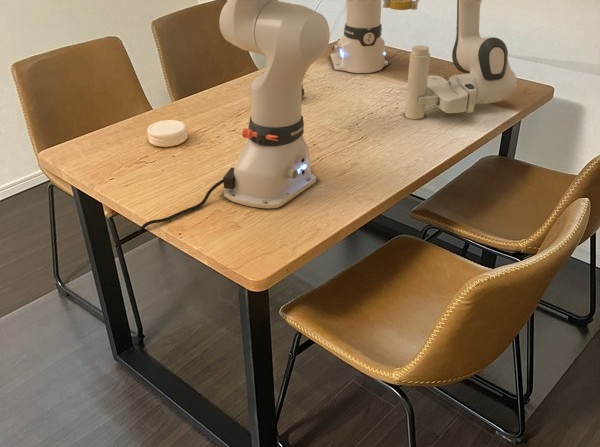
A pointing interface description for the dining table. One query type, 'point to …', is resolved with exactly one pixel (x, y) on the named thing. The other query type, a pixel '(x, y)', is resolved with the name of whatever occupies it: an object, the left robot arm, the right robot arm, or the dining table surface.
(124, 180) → the dining table surface
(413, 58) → the jar
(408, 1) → the lid
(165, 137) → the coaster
